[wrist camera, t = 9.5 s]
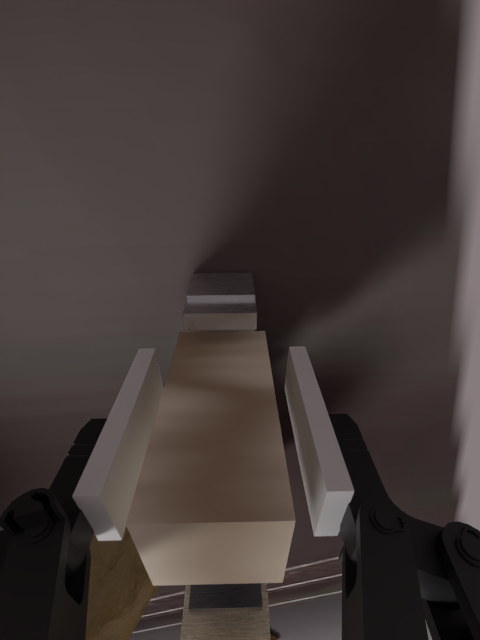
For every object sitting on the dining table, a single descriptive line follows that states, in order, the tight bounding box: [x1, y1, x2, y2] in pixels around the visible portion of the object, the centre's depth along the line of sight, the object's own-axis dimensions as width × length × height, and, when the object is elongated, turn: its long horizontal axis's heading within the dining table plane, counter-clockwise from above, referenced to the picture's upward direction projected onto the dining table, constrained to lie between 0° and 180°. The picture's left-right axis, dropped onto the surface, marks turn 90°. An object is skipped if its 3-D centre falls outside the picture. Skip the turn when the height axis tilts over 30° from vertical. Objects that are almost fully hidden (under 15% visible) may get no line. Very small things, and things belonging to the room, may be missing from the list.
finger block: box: [126, 331, 295, 586], centre depth 11 cm, size 4×4×8 cm
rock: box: [85, 526, 159, 640], centre depth 27 cm, size 11×9×10 cm
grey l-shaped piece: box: [180, 272, 271, 640], centre depth 15 cm, size 19×4×10 cm, turn 0°
